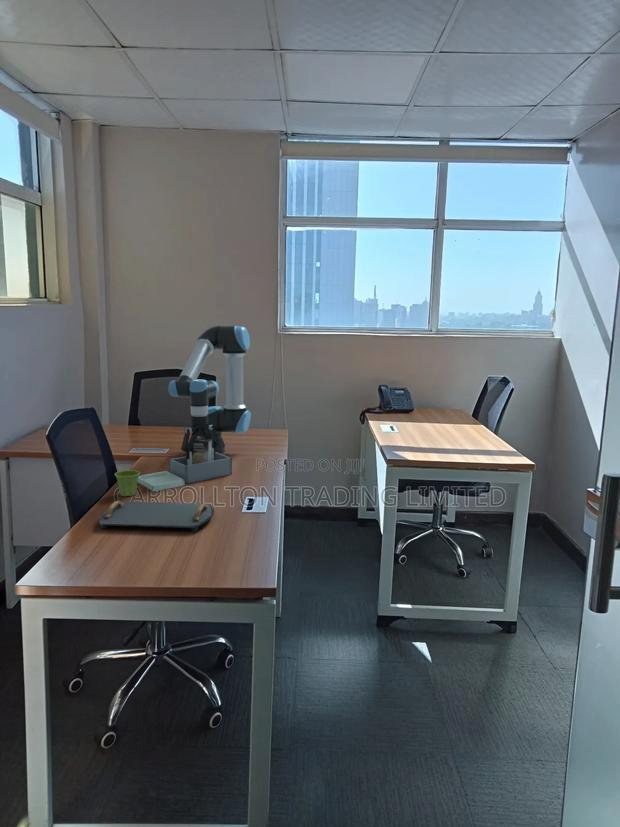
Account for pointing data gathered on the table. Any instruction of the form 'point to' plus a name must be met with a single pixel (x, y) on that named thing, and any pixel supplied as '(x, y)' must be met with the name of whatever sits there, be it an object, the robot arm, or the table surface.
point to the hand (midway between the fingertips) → (200, 463)
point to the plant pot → (127, 482)
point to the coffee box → (201, 450)
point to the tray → (160, 481)
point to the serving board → (156, 515)
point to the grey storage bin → (201, 468)
